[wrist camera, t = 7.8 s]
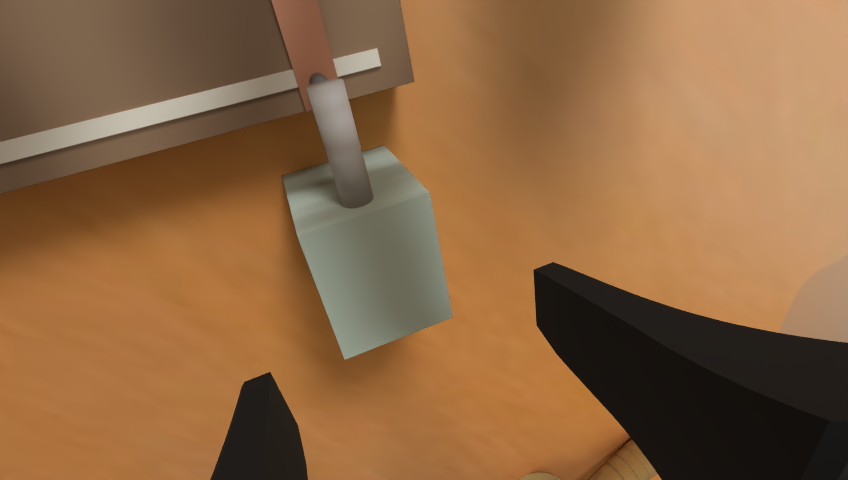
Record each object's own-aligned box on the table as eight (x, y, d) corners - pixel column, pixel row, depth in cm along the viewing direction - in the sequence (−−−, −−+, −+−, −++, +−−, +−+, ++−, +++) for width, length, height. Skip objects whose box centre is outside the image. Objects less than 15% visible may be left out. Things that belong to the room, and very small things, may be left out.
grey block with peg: (321, 281, 19) (344, 359, 15) (245, 76, 15) (249, 110, 11) (408, 250, 20) (453, 317, 16) (361, 47, 16) (406, 69, 12)
